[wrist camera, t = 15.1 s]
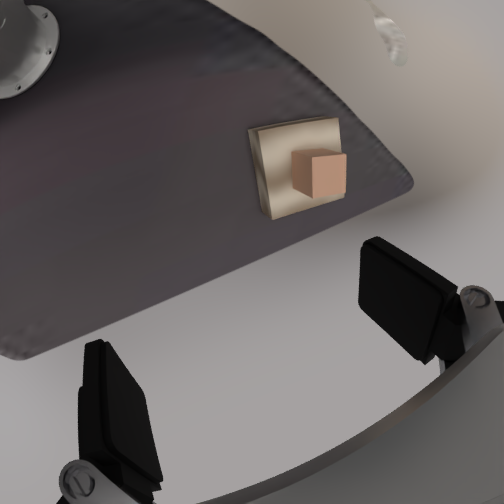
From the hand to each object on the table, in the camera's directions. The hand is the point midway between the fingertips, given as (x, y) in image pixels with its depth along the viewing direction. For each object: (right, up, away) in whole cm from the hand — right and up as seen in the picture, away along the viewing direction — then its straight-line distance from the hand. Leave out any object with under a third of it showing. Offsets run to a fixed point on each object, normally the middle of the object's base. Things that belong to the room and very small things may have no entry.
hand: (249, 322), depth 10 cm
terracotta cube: (+8, +13, +29) cm, 33 cm away
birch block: (+6, +15, +32) cm, 36 cm away
